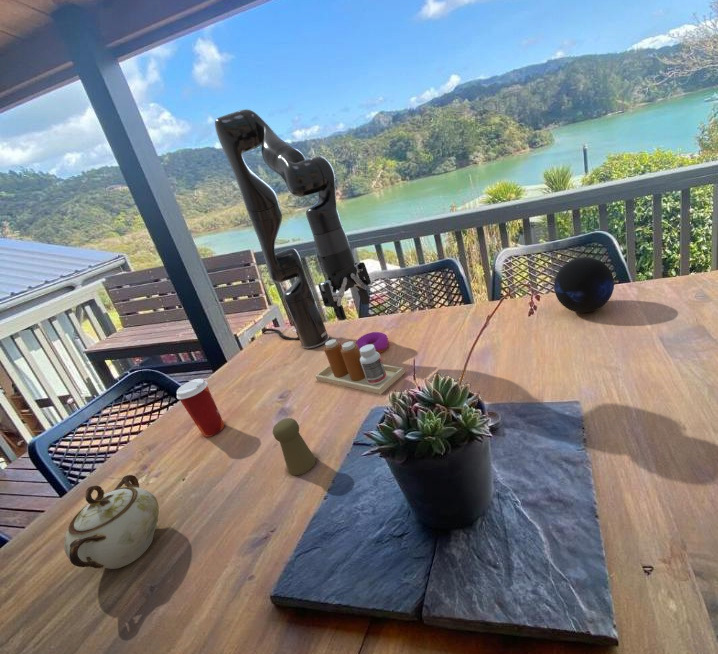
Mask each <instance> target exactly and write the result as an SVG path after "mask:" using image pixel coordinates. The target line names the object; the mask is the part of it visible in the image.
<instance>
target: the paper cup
mask: <svg viewBox="0 0 718 654" xmlns="http://www.w3.org/2000/svg"><path fill="white" fill-rule="evenodd" d="M208 383H209V382H207V381H205V379H203V378H195V379H192V380H190V381H188V382H186V383H183V384H182V385H181V386H179V387H178V388H177V390H176V399H177V400H179V401H180V403H181V404H182V405H183V407H184V409H185V410H186V412H187V413H188V415H189V416H190V418H191V420H192V421H193V422H194V424H195V426H196V427H197V428H198V430H199V431H200V433H201V434H202V436H203V437H205V438H209V437H212V436H215V435H217V434H218V433H220V432H221V431H222V430H223V429H224V428H225V423H224V421H223V418H222V416H221V413H220V411H219V409H218V407H217V404H216V402H215V400H214V397H213V396H212V393H211V391H210V389H209V386H208V385H209V384H208Z"/></svg>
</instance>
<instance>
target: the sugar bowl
mask: <svg viewBox="0 0 718 654" xmlns="http://www.w3.org/2000/svg"><path fill="white" fill-rule="evenodd" d="M94 491H96V493H97V495H96V498H93V496H92V494H93V492H94ZM85 501H86V502H87V503H88V504H86V505H85V506H84V507H83V508H82V509H80V510H79V512H77V513H76V514H75V516H74V517H73V518H72V519H71V521H70V522H69V525H68V527H67V531H66V533H65V536H64V539H63V550H64V553H65V555H66V557H67V558H68V559H69V561H70V563H71V564H72V565H73V566H74V567H79V568H93V569H109V570H117V569H120V568H123V567H126V566H128V565H130V564H132V563H133V562H135V561H136V560H138V559H139V558H140V557H142V556H143V555H144V553H146V551H147V550H148V549H149V548H150V546H151V544H152V542H153V539H154V535H155V531H156V529H157V524H158V519H159V512H160V511H159V509H160V507H159V502H158V500H157V497H156V496H155V494H153V493H152V492H151V491H149V490H148V489H145V488H141V487H140V483H139V480H138V478H137V477H136V476H135V475H133V474H127V475H125V476H123V477H122V479H121V480H120V481H119V483H118V484H117V485H116V486H115V488H114V489H113V490H110V491H107V492H106V493H105V490H104V489H103V487H101V486H100V485H91V486H88V487H87V488H86V491H85Z"/></svg>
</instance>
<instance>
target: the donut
mask: <svg viewBox="0 0 718 654" xmlns="http://www.w3.org/2000/svg"><path fill="white" fill-rule="evenodd" d="M355 344H357V345H358V347H359V350H360V348H361V347H363V346H365V345H369V344H372V345H374V346H375V349H376V352H378V353H379V354H381V353H383V352H385V351H386V350H387V348H388V344H389V338H388V335H387V334H386V333H384V332H381V331H372V332H368V333H365V334H363V335H361V336H360V337H359V338H358V339H357V340H356V341H355Z"/></svg>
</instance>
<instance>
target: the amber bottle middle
mask: <svg viewBox="0 0 718 654" xmlns="http://www.w3.org/2000/svg"><path fill="white" fill-rule="evenodd" d="M341 346H342V349H341V354H342V356H343V359H344V362H345V365H346V367H347V370H348V373H349V376H350V378H351V380H352V381H359V380H362V379H364V378H365V374H364V371H363V368H362V366H361V362H360V358H361V354H360V350H359V347H358V345H357V344H356V343H355V342H354V341H353V340H352V341H346V342H344V343H343V344H341Z"/></svg>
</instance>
